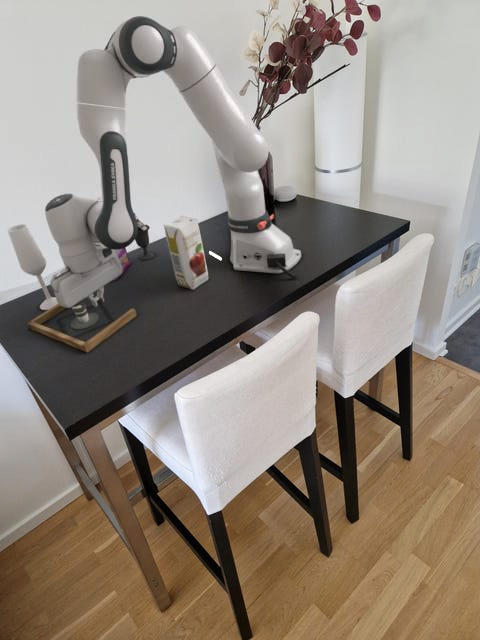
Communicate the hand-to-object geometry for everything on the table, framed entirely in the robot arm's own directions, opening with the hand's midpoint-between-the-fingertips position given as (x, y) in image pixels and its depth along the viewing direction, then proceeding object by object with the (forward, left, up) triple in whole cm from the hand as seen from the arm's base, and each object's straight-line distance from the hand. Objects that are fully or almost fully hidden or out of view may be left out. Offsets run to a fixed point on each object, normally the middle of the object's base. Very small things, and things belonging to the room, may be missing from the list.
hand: (98, 303), depth 119 cm
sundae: (+11, -30, -3) cm, 33 cm away
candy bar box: (+13, -18, -3) cm, 23 cm away
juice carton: (-16, -22, -3) cm, 27 cm away
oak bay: (0, +6, -2) cm, 7 cm away
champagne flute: (+18, +4, -3) cm, 19 cm away
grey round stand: (0, +6, -3) cm, 6 cm away
